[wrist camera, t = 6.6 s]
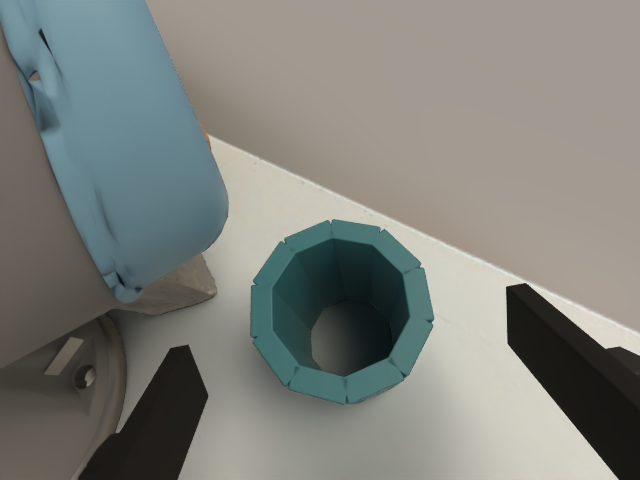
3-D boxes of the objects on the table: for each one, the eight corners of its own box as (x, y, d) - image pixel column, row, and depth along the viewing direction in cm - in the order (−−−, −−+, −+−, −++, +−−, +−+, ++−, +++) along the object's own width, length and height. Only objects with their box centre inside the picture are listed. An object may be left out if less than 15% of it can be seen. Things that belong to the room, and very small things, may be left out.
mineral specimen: (166, 203, 28) (113, 151, 20) (231, 287, 27) (200, 265, 19) (82, 261, 27) (-10, 228, 19) (145, 354, 25) (74, 360, 17)
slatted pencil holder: (275, 361, 23) (213, 336, 14) (333, 268, 25) (312, 194, 16) (372, 427, 21) (372, 448, 12) (427, 319, 23) (463, 266, 14)
